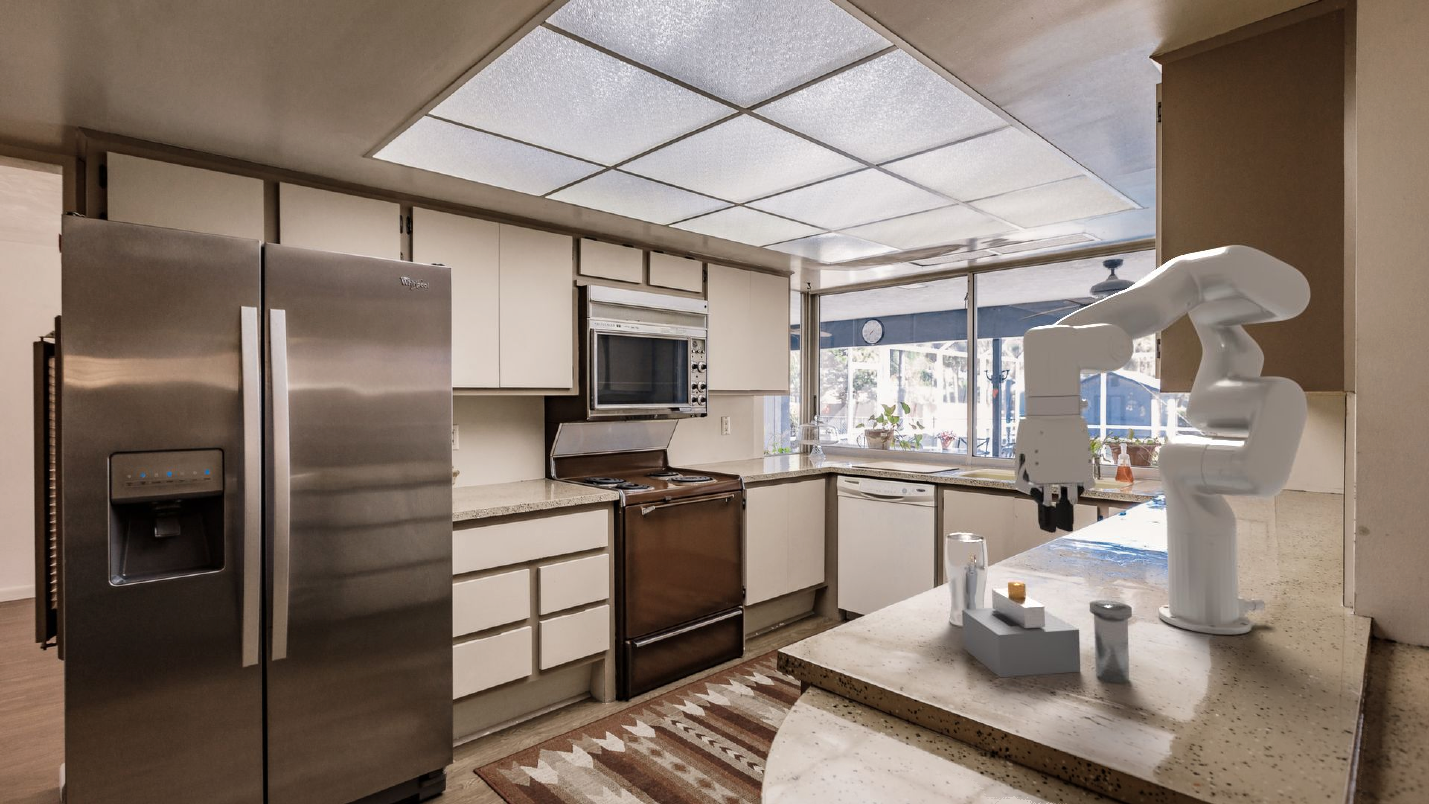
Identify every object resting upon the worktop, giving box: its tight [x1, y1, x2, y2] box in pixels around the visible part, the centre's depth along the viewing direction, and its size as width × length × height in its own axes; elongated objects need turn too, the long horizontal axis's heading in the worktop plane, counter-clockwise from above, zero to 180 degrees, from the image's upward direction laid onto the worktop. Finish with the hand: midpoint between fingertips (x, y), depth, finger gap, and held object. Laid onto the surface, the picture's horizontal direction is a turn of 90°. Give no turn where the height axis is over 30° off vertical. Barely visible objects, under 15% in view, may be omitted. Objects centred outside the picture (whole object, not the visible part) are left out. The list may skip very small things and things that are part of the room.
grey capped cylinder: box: [1089, 599, 1133, 685], centre depth 91 cm, size 5×5×10 cm
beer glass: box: [944, 532, 989, 629], centre depth 114 cm, size 7×7×15 cm
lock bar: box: [991, 581, 1045, 628], centre depth 98 cm, size 3×9×5 cm, turn 5°
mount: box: [962, 607, 1081, 678], centre depth 98 cm, size 12×11×6 cm
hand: (1056, 529), depth 98 cm, fingers closed
